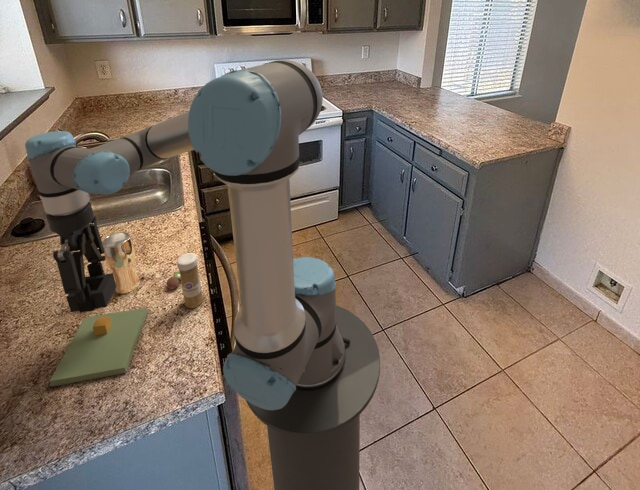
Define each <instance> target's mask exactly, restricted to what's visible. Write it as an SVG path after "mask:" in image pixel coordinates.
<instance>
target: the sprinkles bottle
mask: <svg viewBox="0 0 640 490" xmlns="http://www.w3.org/2000/svg"><path fill="white" fill-rule="evenodd" d="M176 265H177V269H178V272H180V277H181V280H180V283H181V290H182V294H183V299H184V306H185V307H186V308H188V309H193V308H197V307H199V306H200V305H201V304H202V303H203V302H204V296H203V291H202V284H201V278H200V277H201V276H200V272H199V268H198V257H197V255H196V253H194V252H187V253H183V254H182V255H180V256H178V258H177V260H176Z"/></svg>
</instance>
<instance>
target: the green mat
mask: <svg viewBox="0 0 640 490" xmlns="http://www.w3.org/2000/svg"><path fill="white" fill-rule="evenodd" d="M147 316H148V308H147V307H142V308H136V309H130V310H123V311H115V312H109V313H105V314H104V313H103V314H98V315H91V316H86V317H85V316H84V317H83V320H82V321H81V323H80V325H79V327H78V329H77V331H76V332H75V335H74V336H73V338H72V340H71V342H70V343H69V344H68V346H67V348H66V350H65V352H64V354H63V356H62V358H61V360H60V361H59V363H58V365H57V366H56V369H55V370H54V372H53V374H52V376H51V378H50V379H49V385H50V387H57V386H62V385H68V384H73V383H79V382H84V381H89V380H90V381H91V380H94V379H100V378H104V377H111V376H116V375H122V374H126V373H127V371H128V369H129V366H130V363H131V360H132V357H133V355H134V352H135V350H136V347H137V343H138V340H139V338H140V335H141V332H142V329H143V326H144V324H145V320H146V318H147Z"/></svg>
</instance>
